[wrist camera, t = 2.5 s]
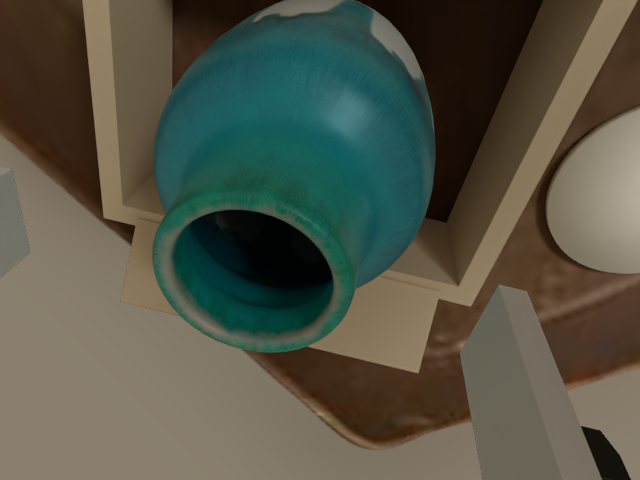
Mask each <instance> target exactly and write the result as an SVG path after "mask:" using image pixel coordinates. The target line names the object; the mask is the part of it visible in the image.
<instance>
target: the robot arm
mask: <svg viewBox="0 0 640 480" xmlns="http://www.w3.org/2000/svg"><path fill="white" fill-rule="evenodd" d="M29 253H30V249H29V244H28V239H27V234H26V230H25V225H24V221H23V216H22V211H21V206H20V202H19V197H18V192H17V188H16V183H15V179H14V174H13V170H12V169H9V168H5V167H1V166H0V278H1V277H2V276H4V275H5V274H6V273H7V272H8V271H9V270H10V269H12V268H13V267H14V266H15V265H16V264H17V263H18V262H20V261H21V260H22V259H23V258H24V257H25V256H26V255H27V254H29ZM460 356H461V362H462V368H463V373H464V379H465V385H466V390H467V396H468V401H469V407H470V413H471V418H472V424H473V430H474V435H475V441H476V446H477V452H478V458H479V463H480V469H481V475H482V480H631V479H630V477H629V475H628V472H627V470H626V468H625V466H624V464H623V461H622V459H621V457H620V455H619V454H618V453H617V451H616V450H615V449H614V448H613V446H612V445H611V444H610V443H609V441H608V440H607V439H606V437H605V436H604V435H603V434H602V432H601V431H600V430H595V429H591V428H587V427H583V426H580V423H579V421H578V418H577V416H576V414H575V411H574V408H573V406H572V404H571V401H570V398H569V396H568V393H567V391H566V388H565V386H564V383H563V381H562V378H561V376H560V373H559V371H558V368H557V366H556V363H555V361H554V358H553V356H552V353H551V351H550V348H549V346H548V343H547V341H546V338H545V336H544V333H543V331H542V328H541V326H540V323H539V321H538V318H537V316H536V313H535V311H534V308H533V306H532V303H531V301H530V298H529V296H528V293H527V291H524V290H520V289H515V288H511V287H507V286H503V285H498V287H497V288H496V290H495V292H494V294H493V296H492V297H491V299H490V301H489V303H488V304H487V306H486V308H485V310H484V311H483V313H482V315H481V317H480V319H479V320H478V322H477V324H476V326H475V327H474V329H473V331H472V333H471V334H470V336H469V338H468V340H467V342H466V343H465V345H464V347H463V349H462V350H461V352H460Z"/></svg>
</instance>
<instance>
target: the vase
mask: <svg viewBox="0 0 640 480" xmlns="http://www.w3.org/2000/svg"><path fill="white" fill-rule="evenodd" d="M435 159H436V147H435V134H434V122H433V114H432V108H431V104H430V99H429V95H428V91H427V87H426V83H425V80H424V76H423V74H422V71H421V69H420V67H419V64H418V62H417V60H416V57H415V55H414V53H413V52H412V50H411V48H410V47H409V45H408V44H407V42H406V41H405V39H404V38H403V36H402V35H401V33H400V32H399V31H398V30H397V29H396V28H395V27H394V26H393V25H392V24H391V23H390V21H389V20H387V19H386V18H385V17H383V16H382V15H381V14H379V13H378V12H377V11H376V10H374V9H372V8H370V7H368V6H366V5H364V4H362V3H361V2H358V1H355V0H284V1H281V2H279V3H276V4H274V5H272V6H269V7H267V8H265V9H262V10H260V11H258V12H256V13H255V14H253V15H251V16H249V17H248V18H246V19H245V20H243V21H242V22H240V23H239V24H237V25H236V26H234V27H233V28H232V29H230V30H229V31H227V32H226V33H224V34H223V35H222V36H220V37H219V38H218V39H216V40H215V41H214V42H213V43H212V44H211V45H210V46H209V47H208V48H207V49H206V50H205V51H204V52H203V53H202V54H201V55H200V56H199V57H198V58H197V59H196V60H195V61H194V62H193V63H192V64H191V65H190V67H189V68H188V69H187V70H186V72H185V73H184V75H183V76H182V77H181V79H180V80H179V82H178V83H177V85H176V86H175V88H174V89H173V91H172V92H171V94H170V96H169V98H168V100H167V102H166V104H165V107H164V109H163V111H162V114H161V116H160V119H159V123H158V128H157V132H156V136H155V143H154V172H155V180H156V187H157V191H158V194H159V198H160V201H161V205H162V207H163V209H164V211H165V213H166V214H165V215H164V217H163V219H162V221H161V223H160V225H159V227H158V229H157V231H156V234H155V238H154V242H153V251H152V261H153V269H154V274H155V277H156V280H157V283H158V285H159V287H160V289H161V291H162V293H163V295H164V297H165V298H166V300H167V301H168V302H169V304H170V305H171V307H172V308H173V309H174V310H175V311H176V312H177V313H178V314H179V315H180V316H181V317H182V318H183V319H184V320H185V321H186V322H188V323H189V324H190V325H191V326H193V327H194V328H196V329H197V330H199V331H200V332H202V333H203V334H205V335H207V336H209V337H211V338H213V339H214V340H217V341H219V342H222V343H224V344H227V345H229V346H233V347H236V348H240V349H244V350H249V351H255V352H269V353H271V352H286V351H291V350H297V349H300V348H303V347H306V346H309V345H311V344H313V343H315V342H318V341H320V340H321V339H322V338H324V337H325V336H327V335H328V334H330V333H331V332H332V331H333V330H334V329H335V328H336V327H337V326H338V325H339V324H340V323H341V321H342V320H343V318H344V317H345V315H346V314H347V312H348V309H349V307H350V305H351V302H352V299H353V297H354V292H355V289H357V288H359V287H361V286H363V285H365V284H367V283H369V282H371V281H373V280H374V279H375V278H377V277H378V276H379V275H381V274H382V273H384V272H385V271H386V270H387V269H388V268H389V267H390V266H391V265H392V264H393V263H394V262H395V261H396V260H397V259H398V258H399V257H400V256H401V255H402V254H403V253H404V252H405V251H406V249H407V248H408V247H409V245H410V244H411V242H412V241H413V239H414V238H415V236H416V234H417V232H418V230H419V228H420V226H421V224H422V222H423V220H424V217H425V215H426V212H427V208H428V204H429V201H430V197H431V193H432V188H433V180H434V169H435Z"/></svg>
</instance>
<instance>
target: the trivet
mask: <svg viewBox="0 0 640 480" xmlns="http://www.w3.org/2000/svg"><path fill="white" fill-rule="evenodd" d="M545 215H546V221H547V224H548V227H549V230H550V232H551V234H552V236H553V238H554V240H555V241H556V243H557V245H558V246H559V247H560V248H561V249H562V251H563V252H564V253H566V254H567V255H568V256H569V257H570V258H572V259H573V260H575V261H577V262H578V263H580V264H582V265H585V266H587V267H589V268H593V269H596V270H599V271H605V272H610V273H640V106H637V107H634V108H632V109H629V110H627V111H624V112H622V113H620V114H618V115H616V116H614V117H612V118H611V119H609V120H607V121H605V122H604V123H602V124H601V125H599V126H598V127H596V128H595V129H593V130H592V131H591V132H589V133H588V134H587V135H586V136H585V137H583V138H582V139H581V140H580V141H579V142H578V143H577V144H576V145H575V146H574V147H573V148H572V149H571V150H570V151H569V153H568V154H567V155H566V156H565V157H564V159H563V160H562V162H561V163H560V165H559V166H558V168H557V169H556V171H555V173H554V175H553V177H552V179H551V181H550V184H549V188H548V191H547V195H546V201H545Z"/></svg>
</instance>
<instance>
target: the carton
mask: <svg viewBox="0 0 640 480" xmlns="http://www.w3.org/2000/svg"><path fill="white" fill-rule="evenodd" d="M637 1H638V0H543V2H542V4H541V7H540V9H539V11H538V14H537V16H536V18H535V20H534V23H533V25H532V27H531V30H530V32H529V34H528V37H527V39H526V41H525V43H524V46H523V48H522V50H521V53H520V55H519V57H518V59H517V62H516V64H515V66H514V69H513V71H512V73H511V76H510V78H509V80H508V82H507V85H506V87H505V89H504V92H503V94H502V96H501V99H500V101H499V103H498V105H497V108H496V110H495V112H494V115H493V117H492V119H491V121H490V124H489V126H488V128H487V131H486V133H485V135H484V138H483V140H482V142H481V144H480V147H479V149H478V151H477V154H476V156H475V158H474V160H473V163H472V165H471V167H470V170H469V172H468V174H467V177H466V179H465V181H464V183H463V186H462V188H461V190H460V193H459V195H458V197H457V200H456V202H455V204H454V206H453V209H452V211H451V213H450V216H449V218H448V220H447V222H441V221H437V220H433V219H429V218H425V217H424V220H423V222H422V224H421V226H420V228H419V230H418V232H417V234H416V236H415V238H414V239H413V241H412V242H411V244H410V245H409V247H408V248H407V249H406V251H405V252H404V253H403V254H402V255H401V256H400V257H399V258H398V259H397V260H396V261H395V262H394V263H393V264H392V265H391V266H390V267H389V268H388V269H387V270H386V271H385V272H384V273H382V274H381V275H379V276H378V277H377V278H375V279H374V280H373V281H371V282H369V283H367V284H365V285H363V286H361V287H359V288H357V289H355V292H354V297H353V299H352V302H351V305H350V307H349V309H348V312H347V314H346V315H345V317H344V318H343V320H342V321H341V323H340V324H339V325H338V326H337V327H336V328H335V329H334V330H333V331H332V332H331V333H330V334H328V335H327V336H325V337H324V338H322V339H321V340H320V341H318V342H315V343H313V344H311V345H309V346H307V347H311V348H315V349H320V350H324V351H328V352H332V353H336V354H340V355H345V356H349V357H353V358H357V359H361V360H365V361H369V362H374V363H378V364H382V365H386V366H390V367H394V368H399V369H403V370H407V371H411V372H415V373H418V372H419V369H420V365H421V361H422V358H423V354H424V350H425V346H426V343H427V339H428V335H429V332H430V328H431V324H432V320H433V317H434V313H435V309H436V305H437V302H438V299H441V300H446V301H450V302H454V303H458V304H462V305H466V306H470V307H471V305H472V304H473V302H474V300H475V298H476V296H477V294H478V292H479V291H480V289H481V287H482V285H483V283H484V281H485V280H486V278H487V276H488V274H489V272H490V270H491V269H492V267H493V265H494V263H495V261H496V259H497V258H498V256H499V254H500V252H501V250H502V248H503V247H504V245H505V243H506V241H507V239H508V237H509V236H510V234H511V232H512V230H513V228H514V226H515V225H516V223H517V221H518V219H519V217H520V215H521V214H522V212H523V210H524V208H525V206H526V204H527V203H528V201H529V199H530V197H531V195H532V193H533V192H534V190H535V188H536V186H537V184H538V182H539V181H540V179H541V177H542V175H543V173H544V171H545V170H546V168H547V166H548V164H549V162H550V160H551V158H552V157H553V155H554V153H555V151H556V149H557V147H558V146H559V144H560V142H561V140H562V138H563V136H564V135H565V133H566V131H567V129H568V127H569V125H570V124H571V122H572V120H573V118H574V116H575V114H576V113H577V111H578V109H579V107H580V105H581V103H582V102H583V100H584V98H585V96H586V94H587V92H588V91H589V89H590V87H591V85H592V83H593V81H594V80H595V78H596V76H597V74H598V72H599V70H600V69H601V67H602V65H603V63H604V61H605V59H606V58H607V56H608V54H609V52H610V50H611V48H612V47H613V45H614V43H615V41H616V39H617V37H618V36H619V34H620V32H621V30H622V28H623V26H624V24H625V23H626V21H627V19H628V17H629V15H630V13H631V12H632V10H633V8H634V6H635V4H636V2H637ZM83 11H84V21H85V31H86V41H87V52H88V62H89V72H90V82H91V93H92V103H93V113H94V123H95V134H96V144H97V154H98V164H99V175H100V185H101V195H102V205H103V216H104V218H106V219H110V220H114V221H118V222H123V223H127V224H131V225H135V231H134V236H133V241H132V246H131V251H130V256H129V261H128V265H127V271H126V275H125V281H124V285H123V290H122V295H121V300H120V302H124V303H128V304H133V305H137V306H141V307H145V308H149V309H153V310H158V311H162V312H166V313H170V314H174V315H179V314H178V313H177V312H176V311H175V310H174V309H173V308H172V307H171V305H170V304H169V302H168V301H167V300H166V298H165V297H164V295H163V293H162V291H161V289H160V287H159V285H158V283H157V280H156V277H155V274H154V269H153V261H152V251H153V242H154V238H155V234H156V231H157V229H158V227H159V225H160V223H161V221H162V219H163V217H164V215H165V214H166V213H165V211H164V209H163V207H162V205H161V201H160V198H159V194H158V191H157V187H156V180H155V172H154V143H155V136H156V132H157V128H158V123H159V119H160V116H161V114H162V111H163V109H164V107H165V104H166V102H167V100H168V98H169V96H170V94H171V92H172V39H173V0H83ZM179 316H180V315H179Z"/></svg>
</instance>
